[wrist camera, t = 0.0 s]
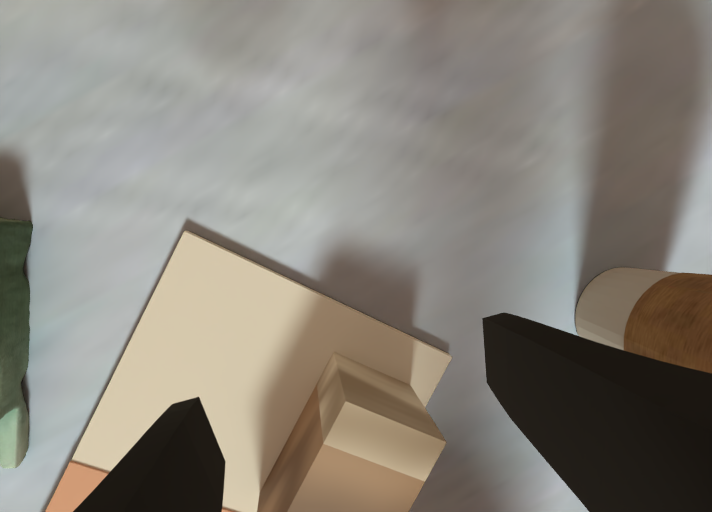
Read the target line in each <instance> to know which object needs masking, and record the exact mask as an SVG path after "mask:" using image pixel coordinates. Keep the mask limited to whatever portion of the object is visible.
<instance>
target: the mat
mask: <svg viewBox="0 0 712 512" xmlns="http://www.w3.org/2000/svg"><path fill="white" fill-rule="evenodd" d="M333 352H336V353H338V354H340V355H343V356H345V357H347V358H349V359H352V360H354V361H356V362H359V363H361V364H363V365H365V366H368V367H370V368H372V369H375V370H377V371H379V372H381V373H384V374H386V375H388V376H391V377H393V378H395V379H397V380H400V381H402V382H404V383H407V384H409V385H411V387H412V388H413V390H414V392H415V393H416V395H417V396H418V398H419V399H420V401H421V403H422V404H423V406H424V407H426V405H427V403H428V401H429V399H430V397H431V396H432V394H433V392H434V390H435V388H436V386H437V385H438V383H439V381H440V379H441V377H442V375H443V373H444V372H445V370H446V368H447V366H448V364H449V362H450V361H451V359H452V357H451V356H450V355H449V354H448V353H446V352H444V351H442V350H440V349H438V348H435V347H433V346H431V345H429V344H427V343H425V342H423V341H421V340H418V339H416V338H414V337H412V336H410V335H408V334H406V333H404V332H401V331H399V330H397V329H395V328H393V327H391V326H389V325H387V324H385V323H382V322H380V321H378V320H376V319H374V318H372V317H370V316H368V315H365V314H363V313H361V312H359V311H357V310H355V309H353V308H351V307H349V306H346V305H344V304H342V303H340V302H338V301H336V300H334V299H332V298H329V297H327V296H325V295H323V294H321V293H319V292H317V291H315V290H312V289H310V288H308V287H306V286H304V285H302V284H300V283H298V282H296V281H293V280H291V279H289V278H287V277H285V276H283V275H281V274H279V273H276V272H274V271H272V270H270V269H268V268H266V267H264V266H262V265H259V264H257V263H255V262H253V261H251V260H249V259H247V258H245V257H243V256H240V255H238V254H236V253H234V252H232V251H230V250H228V249H226V248H223V247H221V246H219V245H217V244H215V243H213V242H211V241H209V240H206V239H204V238H202V237H200V236H198V235H196V234H194V233H192V232H190V231H184V233H183V235H182V237H181V239H180V241H179V243H178V245H177V247H176V249H175V251H174V253H173V255H172V257H171V259H170V261H169V263H168V265H167V267H166V269H165V271H164V273H163V275H162V277H161V279H160V281H159V283H158V285H157V287H156V289H155V291H154V293H153V295H152V297H151V300H150V302H149V304H148V306H147V308H146V310H145V312H144V314H143V316H142V318H141V320H140V322H139V324H138V326H137V328H136V330H135V332H134V334H133V336H132V338H131V340H130V342H129V344H128V346H127V348H126V350H125V352H124V354H123V356H122V358H121V360H120V362H119V364H118V366H117V368H116V370H115V372H114V375H113V377H112V379H111V381H110V383H109V385H108V387H107V389H106V391H105V393H104V395H103V397H102V399H101V401H100V403H99V405H98V407H97V409H96V411H95V413H94V415H93V417H92V419H91V421H90V423H89V425H88V427H87V429H86V431H85V433H84V435H83V437H82V439H81V441H80V443H79V445H78V447H77V450H76V452H75V454H74V456H73V458H72V460H71V461H70V463H69V465H68V467H67V469H66V471H65V473H64V475H63V477H62V479H61V481H60V483H59V485H58V487H57V489H56V491H55V493H54V495H53V497H52V499H51V501H50V503H49V505H48V507H47V509H46V511H45V512H73V511H74V510H75V509H76V508H77V507H78V506H79V505H80V504H81V503H82V502H83V501H84V500H85V499H86V497H87V496H88V495H89V494H90V493H91V492H92V491H93V490H94V489H95V488H96V487H97V486H98V485H99V484H100V482H101V481H102V480H103V479H104V478H105V477H106V476H107V475H108V474H109V472H110V471H111V470H112V469H113V468H114V467H115V466H116V465H117V464H118V462H119V461H120V460H121V459H122V458H123V457H124V456H125V455H126V454H127V453H128V451H129V450H130V449H131V448H132V447H133V446H134V445H135V444H136V442H137V441H138V440H139V439H140V438H141V437H142V436H143V435H144V433H145V432H146V431H147V430H148V429H149V428H150V427H151V426H152V425H153V423H154V422H155V421H156V420H157V419H158V418H159V417H160V416H161V415H162V414H163V413H164V412H165V411H166V410H167V409H168V408H169V407H170V406H171V405H172V404H174V403H178V402H181V401H185V400H189V399H192V398H196V397H199V398H200V400H201V403H202V405H203V408H204V410H205V413H206V415H207V417H208V420H209V422H210V425H211V427H212V430H213V432H214V435H215V437H216V439H217V442H218V444H219V447H220V449H221V452H222V454H223V456H224V459H225V461H226V462H225V479H224V493H223V505H222V512H257V508H258V501H259V493H260V491H261V489H262V487H263V485H264V483H265V481H266V479H267V477H268V476H269V474H270V472H271V470H272V468H273V466H274V464H275V462H276V460H277V458H278V457H279V455H280V453H281V451H282V449H283V447H284V445H285V443H286V441H287V439H288V437H289V436H290V434H291V432H292V430H293V428H294V426H295V424H296V422H297V420H298V418H299V416H300V415H301V413H302V411H303V409H304V407H305V405H306V403H307V401H308V399H309V397H310V396H311V394H312V392H313V390H314V388H315V386H316V384H317V382H318V380H319V378H320V376H321V375H322V373H323V371H324V369H325V367H326V365H327V363H328V361H329V359H330V357H331V355H332V354H333Z"/></svg>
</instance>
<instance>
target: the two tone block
mask: <svg viewBox="0 0 712 512" xmlns="http://www.w3.org/2000/svg"><path fill="white" fill-rule="evenodd" d="M446 443H447V442H446V440H445V439H444V437H443V436H442V434H441V433H440V431H439V429H438V428H437V426H436V425H435V423H434V422H433V420H432V418H431V417H430V415H429V414H428V412H427V410H426V409H425V407H424V406H423V404H422V403H421V401H420V399H419V398H418V396H417V395H416V393H415V392H414V390H413V388H412V387H411V385H409V384H407V383H404V382H402V381H400V380H397V379H395V378H393V377H391V376H388V375H386V374H384V373H381V372H379V371H377V370H375V369H372V368H370V367H368V366H365V365H363V364H361V363H359V362H356V361H354V360H352V359H349V358H347V357H345V356H343V355H340V354H338V353H336V352H333V354H332V355H331V357H330V359H329V361H328V363H327V365H326V367H325V369H324V371H323V373H322V375H321V376H320V378H319V380H318V382H317V384H316V386H315V388H314V390H313V392H312V394H311V396H310V397H309V399H308V401H307V403H306V405H305V407H304V409H303V411H302V413H301V415H300V416H299V418H298V420H297V422H296V424H295V426H294V428H293V430H292V432H291V434H290V436H289V437H288V439H287V441H286V443H285V445H284V447H283V449H282V451H281V453H280V455H279V457H278V458H277V460H276V462H275V464H274V466H273V468H272V470H271V472H270V474H269V476H268V477H267V479H266V481H265V483H264V485H263V487H262V489H261V491H260V493H259V501H258V508H257V512H409V510H410V508H411V506H412V505H413V503H414V501H415V499H416V497H417V495H418V494H419V492H420V490H421V488H422V486H423V485H424V483H425V481H426V479H427V477H428V475H429V474H430V472H431V470H432V468H433V466H434V464H435V463H436V461H437V459H438V457H439V455H440V454H441V452H442V450H443V448H444V446H445V444H446Z"/></svg>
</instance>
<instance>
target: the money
mask: <svg viewBox="0 0 712 512" xmlns="http://www.w3.org/2000/svg"><path fill="white" fill-rule="evenodd" d="M32 230H33V224H32V222H31V221H20V220H15V219H5V218H2V217H0V466H2V467H3V468H17V467H18V466H19V465H20V464H21V462H22V461H23V459H24V457H25V456H26V452H27V450H28V433H29V414H28V411H27V408H26V403H25V401H24V398H23V393H22V388H21V381H22V379H23V377H24V375H25V373H26V370H27V367H28V361H29V359H28V356H29V333H30V327H29V315H30V312H29V304H30V288H29V282H28V280H27V278H26V277H25V275H24V273H23V265H24V261H25V258H26V255H27V252H28V248H29V246H30V242H31V234H32Z"/></svg>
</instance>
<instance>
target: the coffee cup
mask: <svg viewBox="0 0 712 512" xmlns="http://www.w3.org/2000/svg"><path fill="white" fill-rule="evenodd" d="M575 325H576V329H577V333H578V335H579V336H580V337H583V338H586V339H589V340H592V341H595V342H598V343H601V344H604V345H608V346H611V347H614V348H617V349H621V350H624V351H628V352H631V353H635V354H638V355H642V356H645V357H649V358H652V359H656V360H659V361H663V362H667V363H671V364H675V365H678V366H682V367H686V368H691V369H695V370H699V371H704V372H708V373H712V275H707V274H695V273H677V272H667V271H658V270H648V269H638V268H625V267H619V268H613V269H610V270H607V271H605V272H603V273H601V274H600V275H598V276H597V277H595V278H594V279H593V280H592V281H591V282H590V283H589V284H588V285H587V287H586V288H585V289H584V291H583V293H582V295H581V296H580V298H579V301H578V304H577V308H576V314H575Z"/></svg>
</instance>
